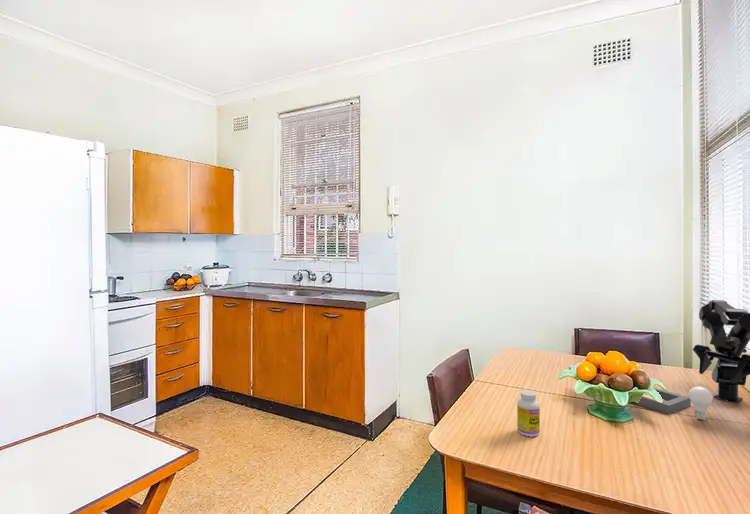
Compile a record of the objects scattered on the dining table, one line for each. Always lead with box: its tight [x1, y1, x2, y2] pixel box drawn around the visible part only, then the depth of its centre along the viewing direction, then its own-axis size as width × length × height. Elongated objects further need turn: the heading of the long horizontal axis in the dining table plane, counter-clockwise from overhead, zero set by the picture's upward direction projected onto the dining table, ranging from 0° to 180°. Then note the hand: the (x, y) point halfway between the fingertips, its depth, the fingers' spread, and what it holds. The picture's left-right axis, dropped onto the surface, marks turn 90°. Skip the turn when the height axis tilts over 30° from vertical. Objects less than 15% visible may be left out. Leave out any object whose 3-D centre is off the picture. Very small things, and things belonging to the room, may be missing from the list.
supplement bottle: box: [516, 389, 541, 438], centre depth 131 cm, size 7×7×13 cm
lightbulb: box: [688, 385, 714, 421], centre depth 137 cm, size 6×6×11 cm
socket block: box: [637, 387, 692, 415], centre depth 151 cm, size 14×13×3 cm
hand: (715, 377), depth 139 cm, fingers open, 9 cm apart
